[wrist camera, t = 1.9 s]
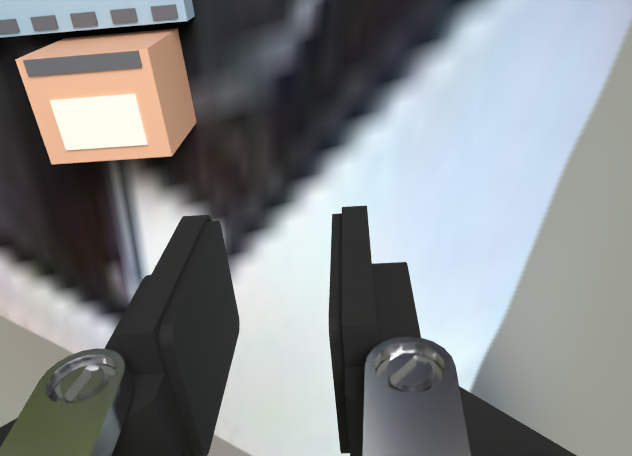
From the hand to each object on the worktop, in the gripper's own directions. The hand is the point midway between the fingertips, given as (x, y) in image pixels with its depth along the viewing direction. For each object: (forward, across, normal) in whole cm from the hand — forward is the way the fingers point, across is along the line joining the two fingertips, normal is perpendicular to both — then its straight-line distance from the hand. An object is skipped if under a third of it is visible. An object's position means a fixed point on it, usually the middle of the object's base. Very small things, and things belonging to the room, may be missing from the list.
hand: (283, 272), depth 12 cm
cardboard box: (+19, +10, 0) cm, 22 cm away
